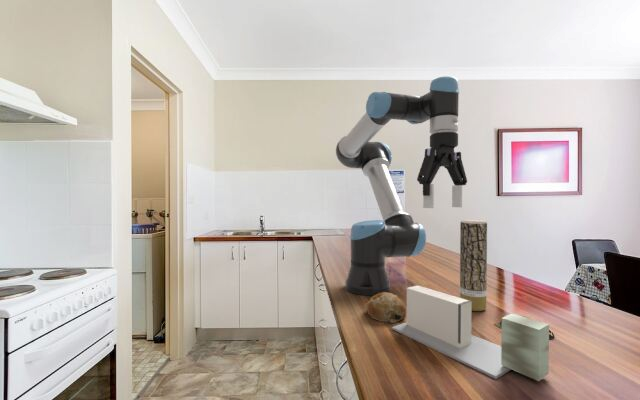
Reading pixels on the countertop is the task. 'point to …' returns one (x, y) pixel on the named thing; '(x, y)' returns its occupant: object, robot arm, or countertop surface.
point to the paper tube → (473, 262)
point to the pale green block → (525, 346)
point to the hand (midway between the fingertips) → (443, 207)
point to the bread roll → (386, 308)
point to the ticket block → (449, 330)
